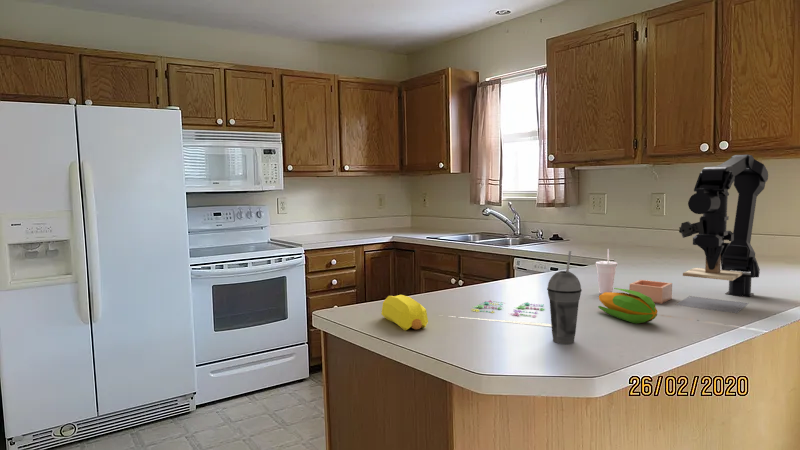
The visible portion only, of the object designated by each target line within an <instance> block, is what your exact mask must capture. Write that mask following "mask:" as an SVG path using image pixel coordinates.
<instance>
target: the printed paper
mask: <svg viewBox="0 0 800 450" xmlns="http://www.w3.org/2000/svg"><path fill="white" fill-rule="evenodd" d="M488 305H493V306H488ZM494 305H495V306H494ZM501 305H502V306H503V305H504V302H502V301H501V302H500V301H497V302H496V301H492V300H491V299H490V300H485V301H484V302H480V303H479V304H477V305H476V306H473V307H472V308H470V311H471V312H476V313H479V312H482V313H492V314H493V313H495V310H503V309H504V307H502V306H501ZM529 305H530V306H531V307H529ZM497 306H498V307H497ZM532 306H534V307H532ZM535 306H539V307H535ZM540 306H542V307H540ZM543 306H544V304H542V303H541V304H539V303H538V304H535V303H534V304H533V303H529V302H524V303H522V304H520V305H518V306H516V307H513V308H514V309H513V312H514V313H512V316H517V317H518V316H519V315H520V316H525V317H526V316H527V317H537V315H536V314H538V310H539V311H540V312H541V311H545V310H547V309H546V308H544V307H543ZM475 308H476V309H475ZM482 308H486V309H487V308H488V309H493V310H491V311H490V310H486V311H485V310H481V309H482ZM479 309H480V310H479ZM494 309H495V310H494ZM517 309H518V310H517ZM520 309H521V310H520ZM523 309H525V310H527V309H528V310H529V309H531V310H532V309H533V310H536V311H535V312H533V311H529V312H528V311H522V310H523ZM524 313H528V314H524ZM508 314H509V315H511V313H508ZM532 314H534V315H532ZM439 316H442V315H439ZM449 317H452V318H455V316H452V315H449ZM459 318H461V319H462V318H463V319H468V317H465V316H464V317H463V316H459ZM469 319H470V320H473V319H474V320H480V321H481V320H483V321H488V322H489V321H490V322H491V321H492V322H500V323H501V322H502V323H511V324H519V325H520V324H521V325H528V326H529V325H532V326H542V327H551V328H552V326H551V323H543V322H529V321H518V320H515V321H514V320H504V319H489V318H478V317H477V318H476V317H469Z"/></svg>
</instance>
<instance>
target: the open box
mask: <svg viewBox="0 0 800 450" xmlns="http://www.w3.org/2000/svg"><path fill="white" fill-rule="evenodd" d="M628 290H632V291H636V292H640V293H642V294H644V295H646V296H648V297H650V298H651V299H652V301H653V302H654V304H661V305H662V304H663V305H664V303H666V302H668V301H670V300H672V299H673V283H672V282H665V281H663V282H662V281H655V280H648V279H647V280H646V279H638V280H635V281H633V282H632V283H629V289H628ZM628 294H630V293H628ZM631 295H633V294H631Z"/></svg>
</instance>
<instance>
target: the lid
mask: <svg viewBox="0 0 800 450" xmlns="http://www.w3.org/2000/svg"><path fill="white" fill-rule="evenodd" d="M704 265H705V267H692V268H691V269H689V270H687V271H685V272H682V276H683V277H689V278H690V277H692V278H700V279H701V278H702V279H713V280H721V281H729V280H730V281H733V280H735V279H736V278H738V277H740V276H741V275H742V272H741V271H732V270H730V271H726V270H722V269H721V254H720V257H719V259H718V261H717V263H716V266H715V268H714V269H713V270H710V269H709V267H708V263H707V259H706V258H705V264H704Z"/></svg>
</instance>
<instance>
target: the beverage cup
mask: <svg viewBox="0 0 800 450" xmlns="http://www.w3.org/2000/svg"><path fill="white" fill-rule="evenodd" d="M567 256H568V257H567V263H566V270H561V271H557V272H555V273H554V274H553V275H552V276H551V277H550V278H549V281H548V284H547V288H546V290H547V295H548V299H549V309H550V322H551V323H550V324H551V326H552V327H551V335H552V342H554V343H556V344H560V345H573V344H574V343H575V338H576V332H577V331H576V330H577V322H578V311H579V302H580V299H581V295H582V291H583V290H582V285H581V282H580V279H579V278H578V276H576V274H575V273H572V272H570V271H569V270H570V263H571V256H572V251H571V250H569V251H568V255H567Z"/></svg>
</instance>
